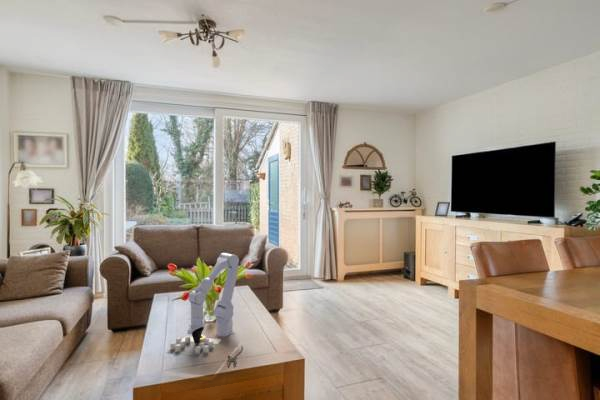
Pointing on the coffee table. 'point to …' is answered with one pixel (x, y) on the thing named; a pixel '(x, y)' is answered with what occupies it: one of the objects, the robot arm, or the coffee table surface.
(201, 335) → the nut
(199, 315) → the robot arm
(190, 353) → the spacer board
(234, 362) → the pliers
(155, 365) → the coffee table surface
